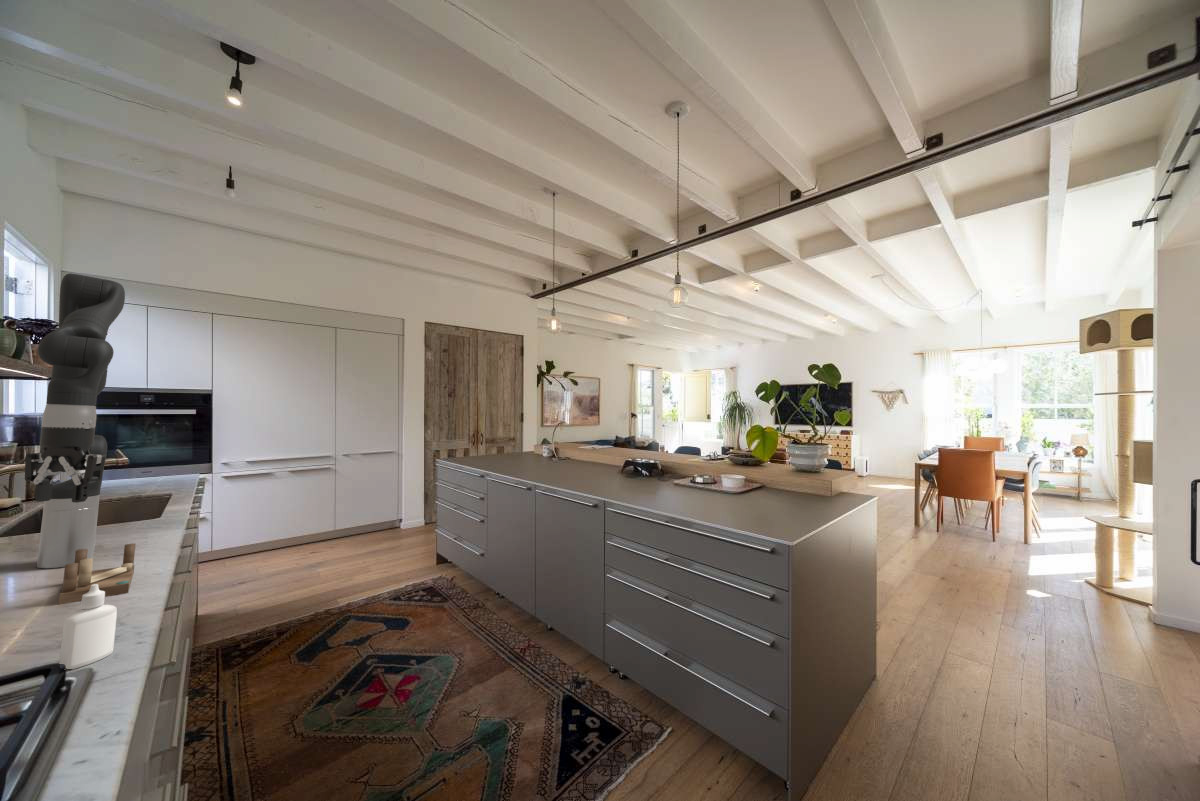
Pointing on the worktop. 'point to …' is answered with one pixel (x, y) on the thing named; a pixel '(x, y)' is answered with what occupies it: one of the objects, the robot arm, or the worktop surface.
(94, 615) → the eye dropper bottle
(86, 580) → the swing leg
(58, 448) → the robot arm
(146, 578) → the worktop surface
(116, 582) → the wooden peg rack
